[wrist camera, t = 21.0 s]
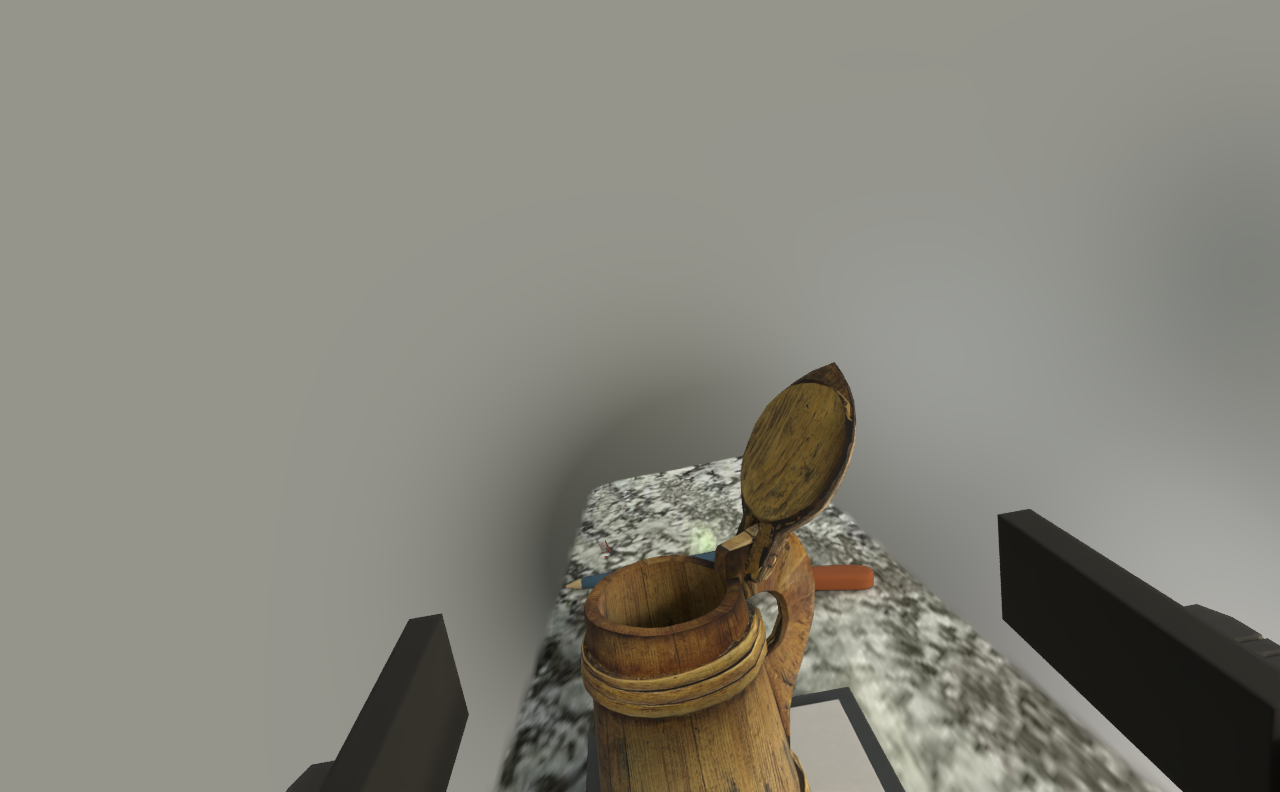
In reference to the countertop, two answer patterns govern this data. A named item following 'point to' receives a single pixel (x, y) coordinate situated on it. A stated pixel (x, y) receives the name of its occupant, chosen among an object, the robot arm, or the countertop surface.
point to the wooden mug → (721, 621)
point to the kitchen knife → (842, 577)
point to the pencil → (593, 580)
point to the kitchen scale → (820, 746)
